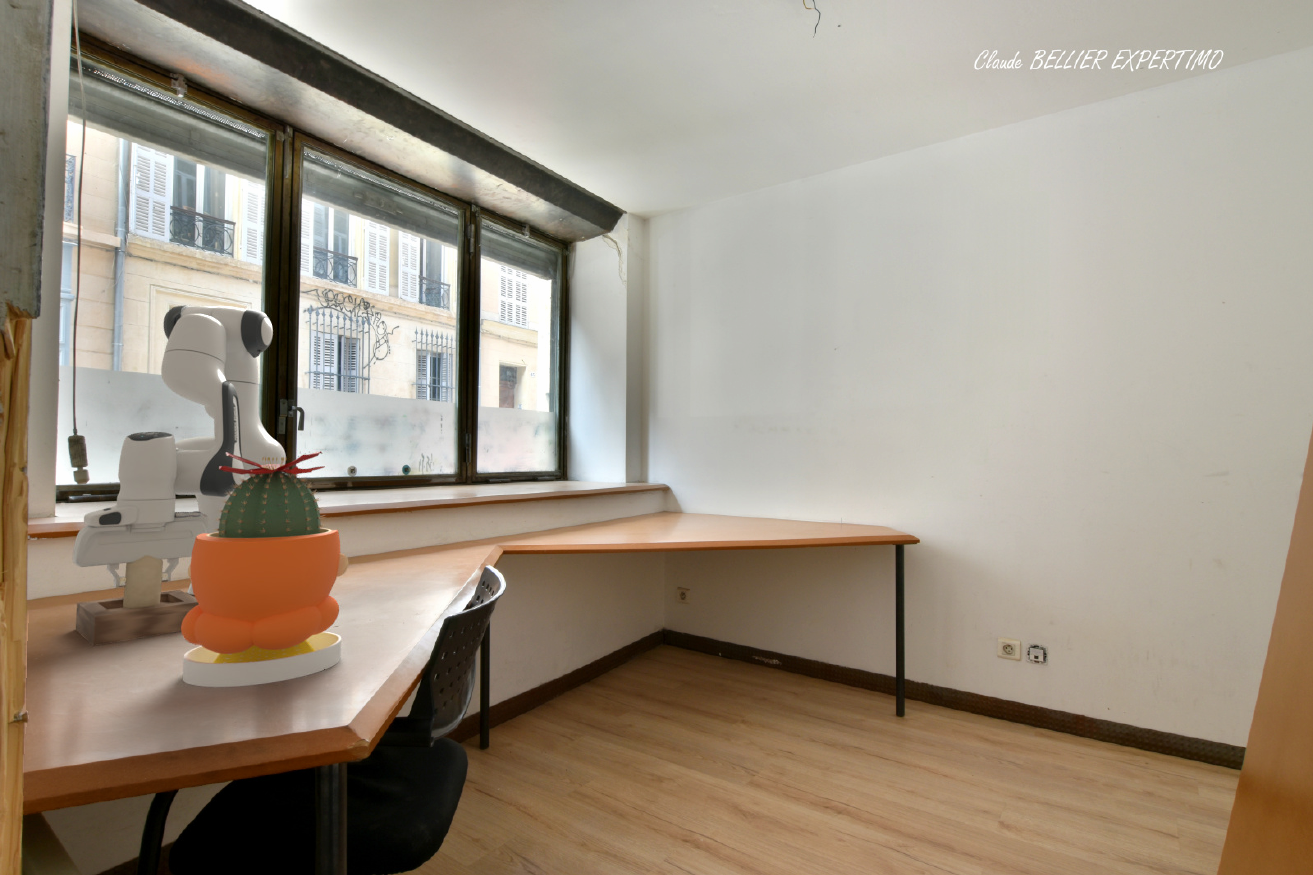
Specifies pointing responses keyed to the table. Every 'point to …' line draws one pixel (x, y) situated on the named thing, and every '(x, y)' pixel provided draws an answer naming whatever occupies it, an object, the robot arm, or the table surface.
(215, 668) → the potted cactus
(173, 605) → the walnut block
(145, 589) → the candle
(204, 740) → the table surface
